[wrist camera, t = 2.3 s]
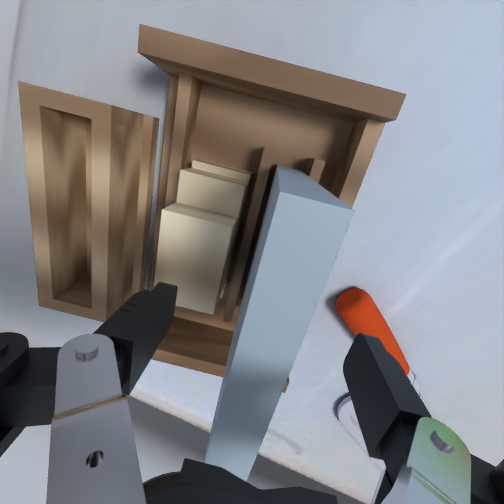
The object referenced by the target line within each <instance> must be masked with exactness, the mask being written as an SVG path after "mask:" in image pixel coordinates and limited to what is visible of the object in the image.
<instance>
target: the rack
mask: <svg viewBox="0 0 504 504" xmlns="http://www.w3.org/2000/svg"><path fill="white" fill-rule="evenodd" d="M138 53H140V54H141V55H143V56H144V57H145V58H147V59H148V60H150V61H151V62H152V63H154V64H155V65H156V66H158V67H159V68H161V69H162V70H163V71H165V72H166V73H167V74H169V75H170V81H169V91H168V101H167V112H166V122H165V132H164V142H163V152H162V162H161V172H160V182H159V193H158V203H157V213H156V223H155V233H154V243H153V253H152V263H151V274H150V284H149V291H151V290H152V289H153V288H154V279H155V270H156V261H157V251H158V242H159V233H160V223H161V214H162V209H164V208H165V207H167V206H169V205H171V204H173V203H175V202H176V201H177V193H178V185H179V177H180V170H182V169H187V168H192V161H193V160H198V159H203V160H207V161H211V162H214V163H218V164H222V165H226V166H230V167H234V168H238V169H241V170H245V171H249V172H253V174H252V179H251V183H250V187H249V191H248V196H247V200H246V204H245V209H244V213H243V217H242V222H241V226H240V230H239V235H238V239H237V243H236V247H235V252H234V256H233V260H232V265H231V269H230V273H229V278H228V282H227V286H226V289H225V291H224V294H223V297H222V298H219V301H218V304H217V306H216V309H215V311H214V314H213V315H211V314H207V313H203V312H199V311H195V310H191V309H188V308H184V307H180V306H176V305H175V311H174V317H173V321H172V324H171V326H170V328H169V330H168V332H167V333H166V335H165V337H164V338H163V340H162V342H161V343H160V345H159V347H158V348H157V350H156V351H155V353H154V355H153V356H152V358H151V359H153V360H157V361H161V362H165V363H169V364H173V365H177V366H181V367H184V368H188V369H192V370H196V371H200V372H204V373H208V374H212V375H216V376H220V377H224V372H225V368H226V364H227V359H228V355H229V351H230V346H231V342H232V338H233V334H234V329H235V325H236V321H237V316H238V312H239V308H240V303H241V299H242V295H243V291H244V288H245V284H246V280H247V276H248V272H249V269H250V265H251V261H252V257H253V253H254V250H255V246H256V242H257V238H258V234H259V231H260V227H261V223H262V219H263V215H264V212H265V208H266V204H267V200H268V196H269V193H270V189H271V185H272V181H273V177H274V174H275V170H276V166H277V164H278V165H282V166H286V167H290V168H293V169H297V170H301V171H302V172H303V173H305V174H306V175H307V176H309V177H310V178H311V179H313V180H314V181H315V182H317V183H318V184H319V185H321V186H322V187H323V188H325V189H326V190H327V191H329V192H330V193H331V194H333V195H334V196H336V197H337V198H338V199H340V200H341V201H342V202H344V203H345V204H346V205H348V206H349V207H350V208H352V206H353V204H354V201H355V199H356V196H357V193H358V191H359V188H360V186H361V183H362V181H363V178H364V176H365V173H366V171H367V168H368V166H369V163H370V161H371V158H372V155H373V153H374V150H375V148H376V145H377V143H378V140H379V138H380V135H381V133H382V130H383V128H384V125H385V123H386V122H390V121H394V120H396V119H397V116H398V114H399V111H400V109H401V106H402V104H403V101H404V99H405V97H406V94H404V93H400V92H396V91H393V90H389V89H385V88H381V87H377V86H374V85H370V84H366V83H362V82H358V81H355V80H351V79H347V78H343V77H339V76H336V75H332V74H328V73H324V72H320V71H317V70H313V69H309V68H305V67H301V66H298V65H294V64H290V63H286V62H282V61H279V60H275V59H271V58H267V57H264V56H260V55H256V54H252V53H248V52H245V51H241V50H237V49H233V48H229V47H226V46H222V45H218V44H214V43H210V42H207V41H203V40H199V39H195V38H191V37H188V36H184V35H180V34H176V33H172V32H169V31H165V30H161V29H157V28H153V27H150V26H146V25H142V24H139V41H138ZM288 384H289V376H288V378H287V381H286V383H285V386H284V388H283V391H282V392H283V393H285V391H286V389H287V386H288Z"/></svg>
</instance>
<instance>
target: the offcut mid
mask: <svg viewBox="0 0 504 504" xmlns="http://www.w3.org/2000/svg"><path fill="white" fill-rule="evenodd" d="M247 187H248V182H245V181H241V180H238V179H234V178H230V177H226V176H222V175H218V174H214V173H211V172H207V171H203V170H199V169H195V168H187V169H182V170H180V177H179V185H178V193H177V201H176V202H178V203H182V204H186V205H190V206H194V207H198V208H202V209H205V210H209V211H213V212H217V213H221V214H225V215H229V216H233V217H236V218H238V219H237V224H236V228H235V233H234V237H233V242H232V246H231V251H230V255H229V259H228V264H227V268H226V273H225V277H224V282H223V286H222V291H223V288H224V285H225V283H226V279H227V274H228V270H229V265H230V261H231V257H232V252H233V248H234V244H235V239H236V235H237V230H238V226H239V222H240V217H241V213H242V209H243V204H244V200H245V196H246V191H247ZM222 291H221V293H222ZM220 296H221V295H220Z"/></svg>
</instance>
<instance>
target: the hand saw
mask: <svg viewBox="0 0 504 504" xmlns="http://www.w3.org/2000/svg"><path fill="white" fill-rule="evenodd" d="M336 309H337V312H338V314H339V315H340V316H341V318H342V319H343V320H344V322H345V323H346V325H347V326H348V327H349V329H350V330H351V332H352V333H353V334H354V336H355V337H356V336H357V334H359V333H363V334H367V335H371V336H375V337H378V338H379V339H380V340H381V342H382V344H383V345H384V347H385V349H386V351H387V352H389V353H390V354H391V355H392V356H393V357H394V358H395V359H396V360H397V361H398V362H399V363H400V365H401V366H402V368H403V370H404V371H405V373H406V376H408V378H409V380H410V381H411V385H413V386H414V388H415V390H416V392H417V393H418V395H419V397H420V398H421V400H422V395H421V393H420V392H419V388H420V382H419V380H418V379H417V377H416V375H415V374H414V372H412V371H411V369H410V367H409V365H408V363H407V361H406V359H405V357H404V355H403V353H402V351H401V349H400V347H399V345H398V343H397V341H396V340H395V338H394V336H393V334H392V332H391V330H390V328H389V326H388V325H387V323H386V321H385V319H384V318H383V316H382V314H381V313H380V311H379V310H378V308H377V306H376V305H375V303H374V301H373V300H372V298H371V297H370V295H369V294H368V293H367V292H366V291H364V290H362V289H359V288H352V289H348V290H346V291H344V292H343V293H342V294H340V296H339V297H338V298H337V300H336ZM353 409H354V406H353V403H352V400H351V396H348V397H346V398H345V399H343V400H342V401H341V403H340V404H339V406H338V409H337V413H338V418H339V421H340V423H341V424H342V425H343V426H344V427H345V429H346V430H347V431H348V432H349V433H350V435H351V436H352V437H353V438H354V439H355V440H356V442H357V443H358V444H359V445H360V446H361V448H362V449H363V450H364V451H365V452H366V453H367V455H368V456H369V454H368V451H367V448H366V445H365V441H364V438H363V435H362V432H361V429H360V427H359V426H358V425H357V424H356V423H355V421H354V420H353V419H352V418H351V416H350V412H351V411H352V410H353ZM370 458H371V459H372V461H373V462H374V463H375V464H376V465H377V466H378V468H379V469H380V470H381V471H383V470H384V468H385V467H386V466H385V463H384V460H380V459H376V458H372V457H370Z"/></svg>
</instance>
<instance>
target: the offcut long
mask: <svg viewBox="0 0 504 504" xmlns="http://www.w3.org/2000/svg"><path fill="white" fill-rule="evenodd" d="M192 168H195V169H199V170H203V171H207V172H211V173H214V174H218V175H222V176H226V177H230V178H234V179H238V180H241V181H245V182H248V187H247V191H246V196H245V200H244V204H243V209H242V213H241V217H240V222H239V226H238V230H237V235H236V239H235V244H234V248H233V252H232V257H231V261H230V265H229V270H228V274H227V279H226V283H225V285H224V288H223V291H222V293H221V296H220V298H222V297H223V294H224V291H225V289H226V286H227V282H228V278H229V273H230V269H231V265H232V260H233V256H234V252H235V247H236V243H237V239H238V235H239V230H240V226H241V222H242V217H243V213H244V209H245V204H246V200H247V196H248V191H249V187H250V183H251V179H252V174H253V172H249V171H245V170H241V169H238V168H234V167H230V166H226V165H222V164H218V163H214V162H211V161H207V160H203V159H198V160H193V161H192Z"/></svg>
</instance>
